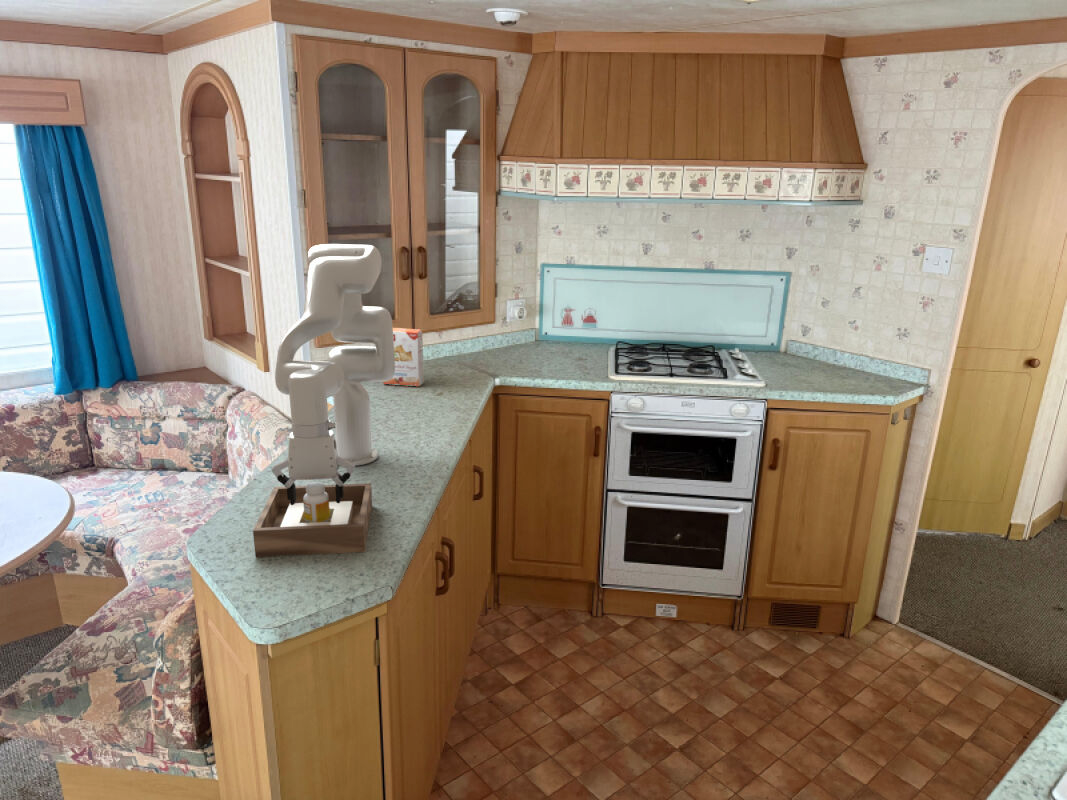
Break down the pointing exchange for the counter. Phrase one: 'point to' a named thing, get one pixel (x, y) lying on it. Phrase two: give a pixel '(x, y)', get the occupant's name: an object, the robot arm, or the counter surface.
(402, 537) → the counter surface
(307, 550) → the open box
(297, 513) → the socket plate
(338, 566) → the counter surface
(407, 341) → the cracker box
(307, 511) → the supplement bottle
